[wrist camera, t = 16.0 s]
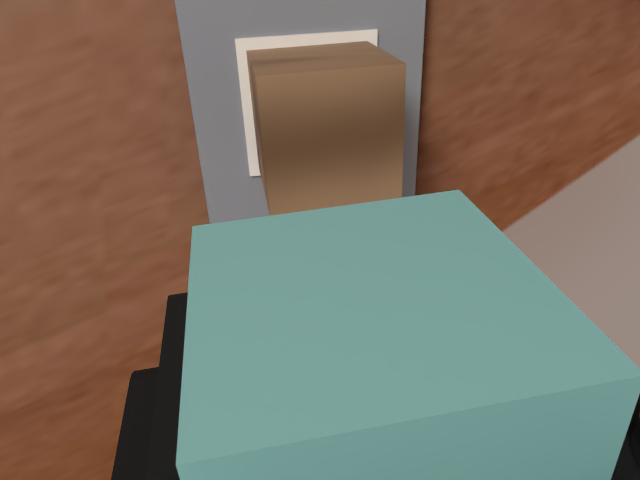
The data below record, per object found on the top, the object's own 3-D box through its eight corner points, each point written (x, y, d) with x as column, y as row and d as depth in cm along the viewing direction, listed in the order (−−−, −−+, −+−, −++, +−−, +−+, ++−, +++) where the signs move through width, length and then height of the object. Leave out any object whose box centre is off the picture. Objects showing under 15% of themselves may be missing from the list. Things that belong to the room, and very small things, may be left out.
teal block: (444, 381, 12) (566, 611, 8) (233, 420, 12) (245, 690, 8) (459, 189, 10) (645, 375, 6) (192, 225, 9) (175, 465, 5)
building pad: (408, 205, 32) (415, 214, 31) (212, 228, 31) (212, 238, 30) (421, -54, 26) (430, -54, 24) (169, -43, 24) (167, -43, 23)
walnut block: (367, 155, 29) (401, 200, 24) (258, 167, 28) (270, 216, 23) (367, 40, 26) (406, 63, 21) (245, 50, 25) (255, 76, 20)
